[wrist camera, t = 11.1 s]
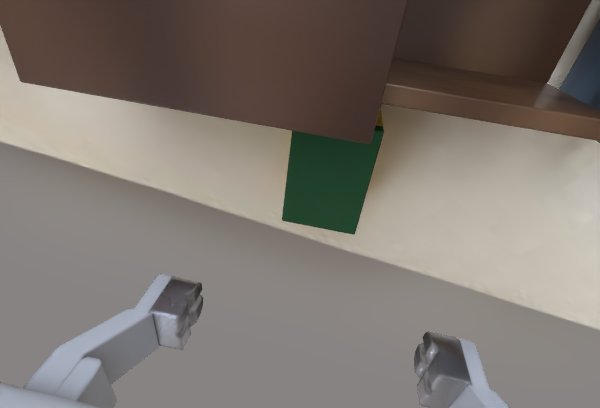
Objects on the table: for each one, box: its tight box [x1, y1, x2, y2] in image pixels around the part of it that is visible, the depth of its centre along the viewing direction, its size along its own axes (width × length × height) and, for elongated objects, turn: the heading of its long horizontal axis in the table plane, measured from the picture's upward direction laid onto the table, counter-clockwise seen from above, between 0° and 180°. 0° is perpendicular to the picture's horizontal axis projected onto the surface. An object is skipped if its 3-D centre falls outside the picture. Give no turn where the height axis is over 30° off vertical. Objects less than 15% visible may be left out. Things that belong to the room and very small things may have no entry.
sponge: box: [282, 110, 384, 234], centre depth 21 cm, size 5×7×4 cm
